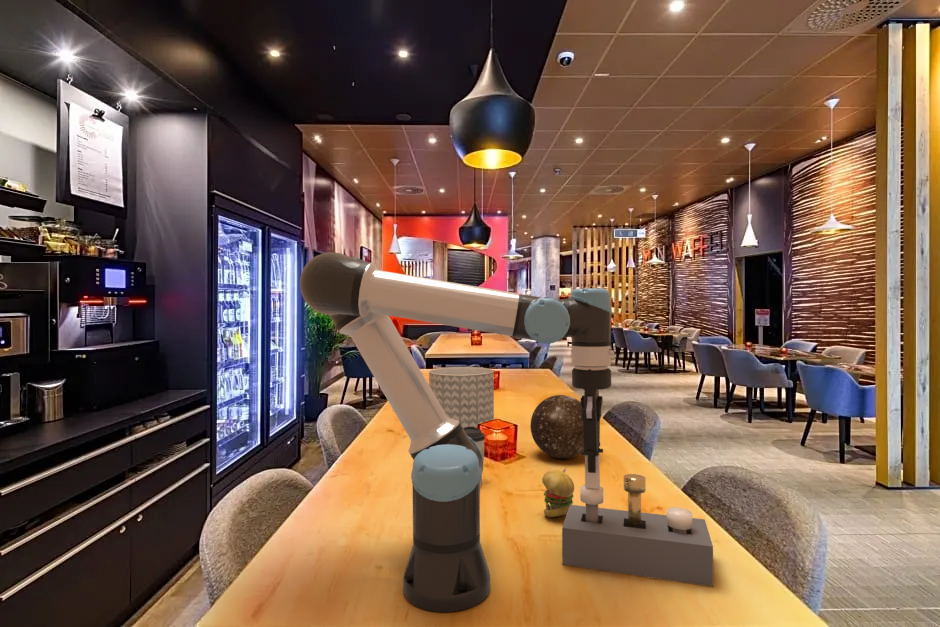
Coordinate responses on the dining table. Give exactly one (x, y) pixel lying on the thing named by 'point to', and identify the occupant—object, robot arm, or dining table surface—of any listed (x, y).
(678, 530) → the knob
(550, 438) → the decorative sphere
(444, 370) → the planter
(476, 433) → the coffee cup
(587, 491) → the knob
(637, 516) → the amber round-headed peg
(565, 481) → the hamburger
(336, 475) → the dining table surface
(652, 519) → the mount block
